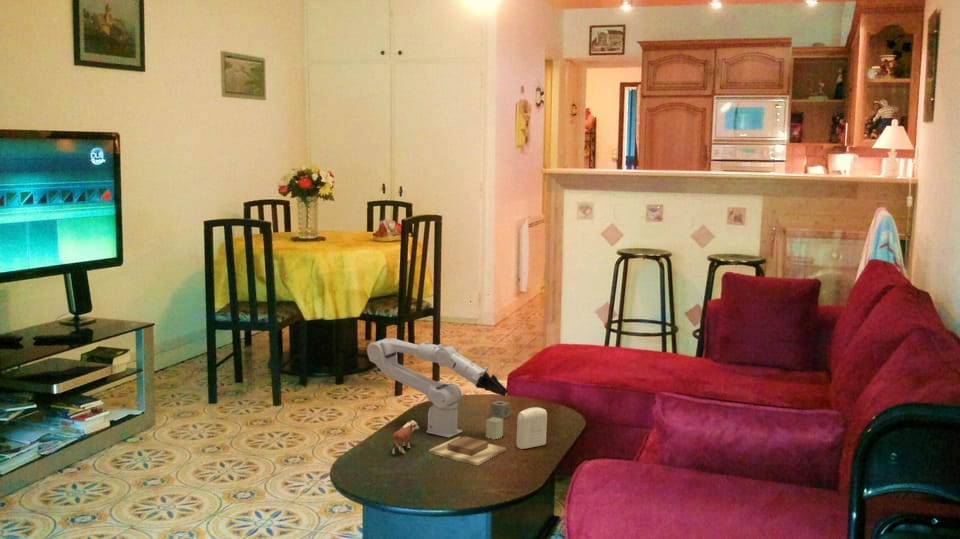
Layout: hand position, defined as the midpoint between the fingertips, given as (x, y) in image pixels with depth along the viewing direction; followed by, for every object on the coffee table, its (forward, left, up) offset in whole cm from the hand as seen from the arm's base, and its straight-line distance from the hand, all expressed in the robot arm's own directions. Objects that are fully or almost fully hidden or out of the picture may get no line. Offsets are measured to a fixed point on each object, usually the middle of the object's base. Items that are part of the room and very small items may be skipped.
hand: (503, 392), depth 275 cm
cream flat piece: (-4, -13, -17) cm, 22 cm away
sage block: (-5, +4, -17) cm, 18 cm away
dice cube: (-16, +24, -17) cm, 33 cm away
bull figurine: (-21, -23, -17) cm, 36 cm away
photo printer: (+9, +4, -17) cm, 19 cm away
